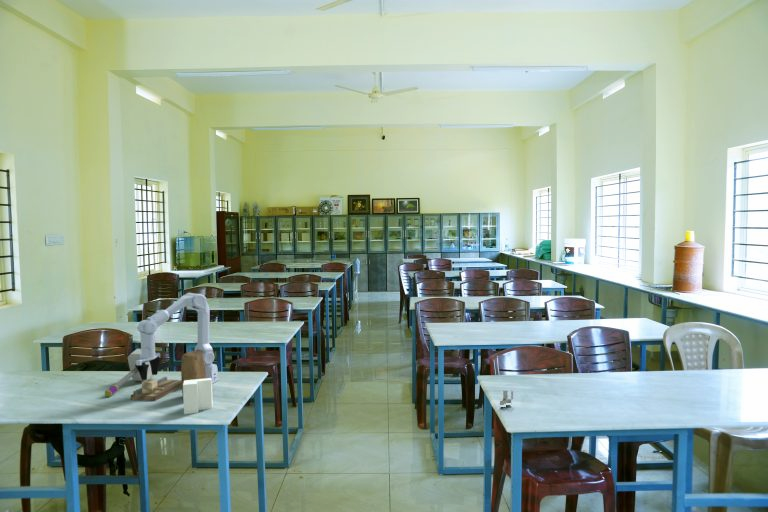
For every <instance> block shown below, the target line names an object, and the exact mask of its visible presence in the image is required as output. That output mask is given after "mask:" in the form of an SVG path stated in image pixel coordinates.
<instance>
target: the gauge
mask: <svg viewBox="0 0 768 512" xmlns="http://www.w3.org/2000/svg"><path fill="white" fill-rule="evenodd" d="M157 380H158V379H149V380H145V381H141V388H142V393H146V394H153V393H155V392H157V391H158V390H161V391H163V390H164V388H158V385H157Z"/></svg>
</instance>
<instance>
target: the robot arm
mask: <svg viewBox="0 0 768 512" xmlns="http://www.w3.org/2000/svg"><path fill="white" fill-rule="evenodd" d="M183 308H192V309H193V310H195V311H196V312H197V344H196V346H194V351H201V352H202V356H203V359H204V363H205V371H206V378H211V380H212V384H214V383H216V382H217V381H219V380H220V379H219V374H218V373H219V372H218V371H219V370H218V366H217V365H218V364H215V363H213V362H214V360H215V353H214V349H213V347H212V346H211V344H210V326H211V325H210V321H211V320H210V319H211V317H210V316H211V315H210V314H211V313H210V312H211V311H210V310H211V308H210V305H209V303H208V302H207V297H206V296H205V295H203V294H202V293H193V292H187V293H185V294H184V295H181V297H180V298H178V299H177V300H176V301H175V302H174V303H172V304H171V305H169V306H168V307H167V308H166V309H160V310H159V309H158V310H156V311H155V313H153V314H152V315H151V316H148V317H147V318H146V319H143V320H140V322H139V323H138V326H137V328H136V329H137V331H138V333H139V335H140V337H139V338H140V349H141V357H140V359H139V360H137V361H136V364H135V367H136V368H137V370H138V371H139V373H140V376H141V379H142V380H147V371H148V367H149V364H145V363H146V362H148V361H149V362H150V365H151V371H152V375H153V376H156V375H158V372H159V368H160V365H161V362H162V359H163V358H161V352H156V343H155V342H156V340H155V337H156V335H155V332H156V331H157V329H158V328H159V327H161V326H162V325H163V324H164V323H167V322H168V320H170V316H171V315H173V314H175V313H177V312H178V311H180V310H181V309H183Z"/></svg>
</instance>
